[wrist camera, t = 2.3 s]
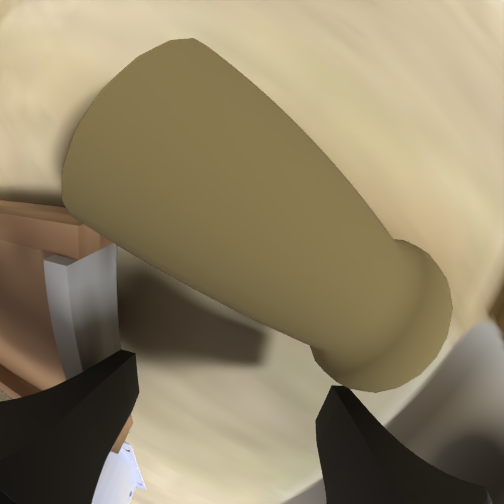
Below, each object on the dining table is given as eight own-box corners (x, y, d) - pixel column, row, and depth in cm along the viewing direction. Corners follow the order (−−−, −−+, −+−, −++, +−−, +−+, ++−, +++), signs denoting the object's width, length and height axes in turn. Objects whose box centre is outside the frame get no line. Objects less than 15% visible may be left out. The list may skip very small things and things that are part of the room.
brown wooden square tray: (141, 406, 13) (113, 462, 9) (14, 349, 13) (-21, 380, 9) (135, 209, 10) (65, 229, 6) (-9, 194, 10) (-62, 205, 6)
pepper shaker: (212, 96, 10) (404, 259, 11) (118, 217, 10) (326, 363, 12) (209, -6, 4) (505, 288, 6) (19, 223, 4) (390, 450, 6)
